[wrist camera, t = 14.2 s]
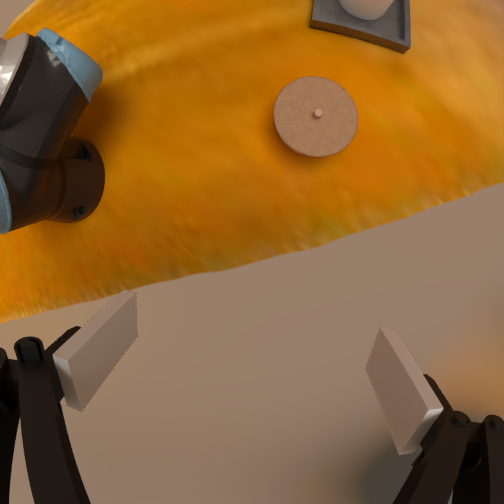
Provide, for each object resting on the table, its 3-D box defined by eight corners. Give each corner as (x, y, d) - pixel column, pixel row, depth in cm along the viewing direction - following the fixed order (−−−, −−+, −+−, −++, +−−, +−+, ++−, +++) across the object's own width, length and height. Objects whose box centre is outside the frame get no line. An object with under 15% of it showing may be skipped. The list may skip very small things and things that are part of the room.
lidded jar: (262, 102, 40) (260, 85, 31) (329, 83, 39) (342, 63, 30) (287, 168, 43) (291, 167, 34) (353, 148, 41) (373, 143, 32)
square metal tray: (309, 27, 36) (312, 19, 34) (317, -35, 32) (319, -44, 29) (403, 53, 36) (410, 47, 33) (402, -11, 32) (407, -18, 29)
